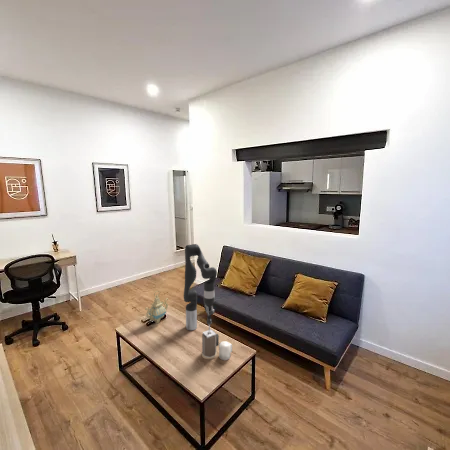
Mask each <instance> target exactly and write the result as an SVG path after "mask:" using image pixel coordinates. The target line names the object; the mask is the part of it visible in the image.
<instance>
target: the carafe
mask: <svg viewBox="0 0 450 450" xmlns="http://www.w3.org/2000/svg"><path fill="white" fill-rule="evenodd" d="M219 335H220V334H219V333H217V332H215V330H213V329H211V328H210V334H209V329H207V330H205V331H202V335H201V341H202V342H201V345H202V346H201V347H202V348H201V356H202V357H201V358H204V359H206V360H213V359H214V358H216V357H218V351H217V347H219V344H220V341H219V340H220V338H219Z"/></svg>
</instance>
